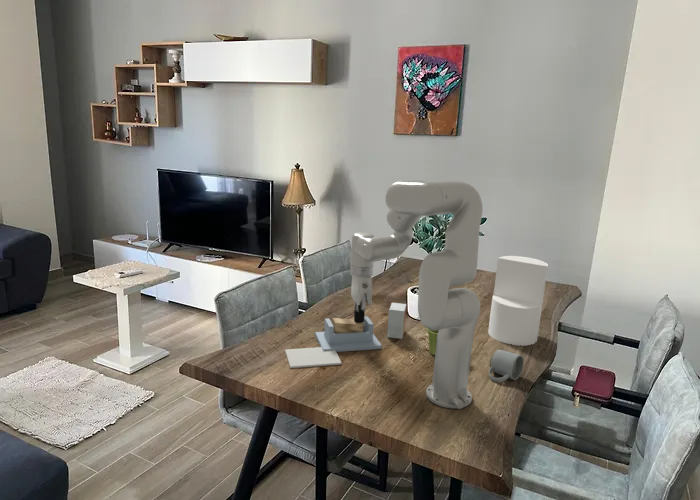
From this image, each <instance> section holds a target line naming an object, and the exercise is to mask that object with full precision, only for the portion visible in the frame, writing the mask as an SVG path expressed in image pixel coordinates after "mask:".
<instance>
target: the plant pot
mask: <svg viewBox="0 0 700 500" xmlns="http://www.w3.org/2000/svg"><path fill="white" fill-rule="evenodd" d="M425 328H426V327H425ZM426 331H427V334H428V347H429V354H431V355H433V356H435V352H436V343H437V335H438V331H439V330H429V329H427V328H426Z"/></svg>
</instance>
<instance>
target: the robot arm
mask: <svg viewBox="0 0 700 500" xmlns="http://www.w3.org/2000/svg"><path fill="white" fill-rule="evenodd" d="M385 205H386V206H387V208H388V209H389V210H388V212H387V214H386V221H387V223H388V226H389V227H390V228H391V229H393V232H392V233H391V235H384V236H376V237H375V235H374V234H372V233H370V232H366V231H365V232H364V231H363V232H360V231H359V232H354V234H353V235H352V237H351V249H350V251H351V254H350V270H349V271H350V272H349V273H350V275H351V285H350V286H351V287H350V295H351V298H352V300H353V301H354V310H353V311H354V314H353V319H354V321H355V322H356V323H357V322H364V317H365V316H366V315H365V313H366V309H367V304H368V305H369V306H371V305H372V302H373V301H372V300H373V299H372V298H373V291H372V290H373V287H372V285H373V283H372V276H373V275H374V274H373V273H374V262H380V261H386V260H392V259H396V258H399V257H400V256H401V255H402V254H403V253H404V252H405V251H406V250H407V249H408V248H409V246H410V245H411V244H412V239H413V233H414V232H413V228H414V226H415V225H416V224H417V222H418V221H419V220H420V219H421V218H422V217H423V216H425V217H426V216H427V217H428V216H429V217H431V216H438V215H439V216H440V215H450V214H451V215H452V217H451V219H450V221H449V222H448V225H447V227H446V230H445V237H444V238H445V241H444V249H443V250H440V251H435V252H434V251H433V252H432V253H431V252H430V253H429V254H427V256H425V257H424V258H423V260H422V262H421V263H420V267H419V272H418V273H419V274H418V291H417V293H418V296H417V300H418V301H417V313H418V319H419V320H420V322H421V325H423V327H424V328H427V329H429V330H439V331H438V335H437V343H436V352H435V355H434V364H433V365H434V366H433V375H432V383H431V384H430V385H428V386H427V388H426V391H425V395H426V397H427V399H428V400H429V401H430V402H431V403H432V404H434V405H436V406H439V407H442V408H447V409H458V410H459V409H460V410H461V409H463V408H466V407H468V406H469V405H470V404H471V403H472V400H473V395H472V393H471V392H470V390H469V389H468V383H469V374H470V366H471V360H472V358H471V357H472V349H473V341H474V335H475V330H476V327H477V322H478V321H479V320H478V319H479V318H480V317H479V316H480V312H481V302H480V299H479V297H478V295H477V294H476V292H475V291H473V290H472V289H469V288H466V287H458V286H463V285H466V284H469V283H471V282H472V281H474V279H475V278H476V275H477V272H478V260H479V241H480V240H479V239H480V238H479V237H480V229H481V222H482V218H483V201H482V197H481V195H480V194H479V192H478V190H477V189H476V188H475V187H474V186H472V184H471V185H470V183H466V182H463V181H456V180H455V181H453V180H451V181H450V180H449V181H435V182H433V181H432V182H427V181H423V180H404V181H403V180H402V181H395V182H393V183H392V184H391V185H390V186H389V187H388V188H387V190H386V193H385ZM452 287H453V288H452ZM454 287H456V288H454ZM450 288H452V289H450ZM427 329H426V330H427Z"/></svg>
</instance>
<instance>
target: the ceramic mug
mask: <svg viewBox="0 0 700 500" xmlns="http://www.w3.org/2000/svg"><path fill="white" fill-rule="evenodd" d="M523 368H524V357H523V355H521V354H518V353H513V352H510V351H506V350H503V349H496V350H494V351H493V352H492V354H491V356H490V359H489V370H488V376H489V379H491V380H492V381H493V382H496V383H501V382H505V381H507V380H508V379H509V380H513V381H517V380H518V379H519V378H520V376H521V375H522V372H523ZM492 372H493V373H495V374H498V375H500V377H494V376H493V375H492ZM501 376H502V377H501Z"/></svg>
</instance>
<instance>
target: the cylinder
mask: <svg viewBox="0 0 700 500" xmlns="http://www.w3.org/2000/svg"><path fill="white" fill-rule="evenodd" d="M548 268H549V264H548V263H547V262H545V261H543V260H541V259H538V258H534V257H527V256H520V255H504V256H499V257H497V263H496V270H495V271H496V272H495V281H494V286H493V287H494V289H493V295H492V298H491V307H490V314H489V315H490V316H489V324H488V335H489V336H490V338H492V339H493V340H495V341H497V342H500V343H504V344H506V345H511V344H512V345H513V346H520V345H521V346H531V344H532V345H534V344H536V343H537V341H538V337H539V336H538V335H539V330H540V323H541V316H542V310H543V304H544V295H545V291H546V282H547V277H548V275H547V274H548ZM535 342H536V343H535Z"/></svg>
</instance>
